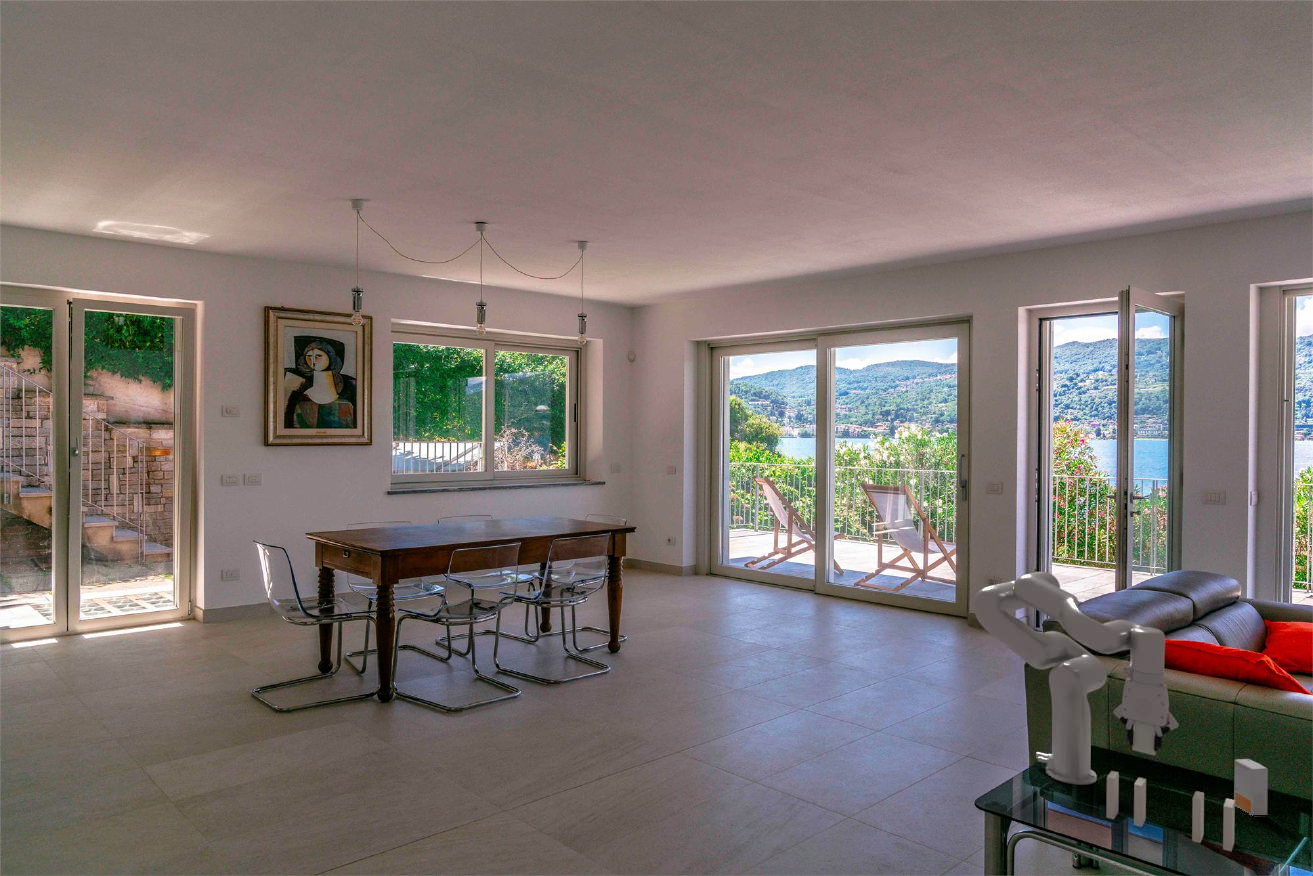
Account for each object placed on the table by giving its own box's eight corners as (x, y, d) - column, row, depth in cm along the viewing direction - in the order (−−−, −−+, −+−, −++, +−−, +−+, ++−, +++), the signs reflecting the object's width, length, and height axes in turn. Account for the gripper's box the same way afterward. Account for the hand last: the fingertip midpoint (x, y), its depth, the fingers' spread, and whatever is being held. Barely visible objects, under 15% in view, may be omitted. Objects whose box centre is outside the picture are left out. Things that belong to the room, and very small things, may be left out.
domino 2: (1154, 755, 214) (1156, 716, 213) (1132, 750, 217) (1133, 711, 217) (1155, 753, 215) (1157, 714, 215) (1133, 748, 218) (1135, 710, 218)
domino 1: (1106, 817, 208) (1106, 777, 208) (1111, 810, 212) (1111, 770, 211) (1113, 819, 207) (1114, 779, 206) (1118, 812, 211) (1118, 772, 210)
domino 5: (1223, 849, 192) (1223, 806, 192) (1225, 840, 196) (1226, 798, 196) (1231, 851, 191) (1232, 808, 191) (1234, 843, 195) (1234, 800, 195)
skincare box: (1233, 805, 214) (1233, 759, 213) (1248, 805, 214) (1249, 758, 214) (1252, 817, 208) (1252, 769, 207) (1268, 816, 208) (1268, 768, 208)
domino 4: (1192, 840, 196) (1192, 798, 196) (1195, 832, 200) (1196, 791, 200) (1200, 843, 195) (1200, 800, 195) (1203, 834, 199) (1204, 792, 199)
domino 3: (1133, 825, 204) (1134, 784, 204) (1138, 817, 208) (1138, 777, 207) (1141, 827, 203) (1141, 785, 203) (1145, 819, 207) (1146, 779, 206)
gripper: (1106, 673, 218) (1104, 742, 219) (1183, 688, 207) (1180, 760, 208) (1112, 666, 223) (1110, 733, 224) (1188, 680, 213) (1185, 751, 213)
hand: (1144, 746), depth 216 cm, fingers closed on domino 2, 4 cm apart
